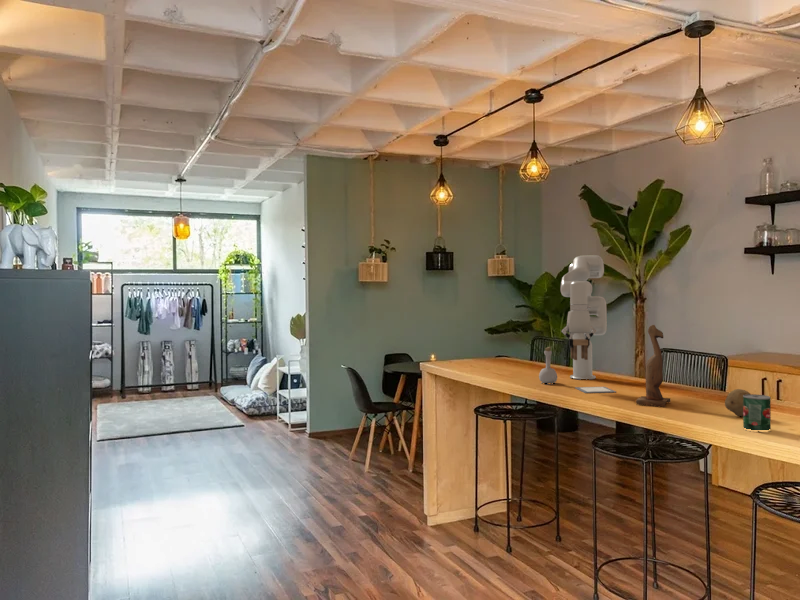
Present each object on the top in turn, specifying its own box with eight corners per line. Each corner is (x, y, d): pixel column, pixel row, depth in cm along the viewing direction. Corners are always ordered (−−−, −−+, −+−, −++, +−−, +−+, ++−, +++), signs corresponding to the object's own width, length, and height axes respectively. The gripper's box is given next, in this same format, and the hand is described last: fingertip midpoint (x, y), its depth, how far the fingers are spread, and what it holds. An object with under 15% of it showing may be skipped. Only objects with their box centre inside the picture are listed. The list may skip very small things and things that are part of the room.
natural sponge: (729, 419, 224) (729, 390, 224) (721, 413, 233) (721, 386, 233) (757, 419, 223) (757, 391, 223) (748, 414, 232) (748, 387, 231)
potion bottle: (559, 384, 306) (559, 347, 306) (541, 384, 306) (540, 347, 306) (555, 381, 315) (554, 345, 315) (537, 382, 315) (536, 345, 314)
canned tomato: (774, 432, 203) (774, 398, 203) (748, 432, 204) (748, 398, 204) (765, 427, 211) (765, 394, 211) (739, 426, 212) (739, 394, 212)
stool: (570, 358, 293) (570, 339, 293) (584, 358, 294) (583, 338, 293) (574, 360, 287) (574, 340, 287) (588, 359, 287) (588, 340, 287)
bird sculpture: (667, 408, 246) (670, 326, 245) (635, 405, 252) (638, 324, 251) (670, 404, 256) (673, 324, 255) (640, 400, 262) (642, 323, 261)
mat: (575, 388, 295) (575, 387, 295) (604, 387, 296) (604, 386, 296) (585, 393, 281) (585, 392, 281) (616, 392, 282) (616, 391, 282)
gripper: (595, 307, 294) (595, 346, 294) (557, 308, 293) (558, 347, 294) (600, 308, 286) (600, 348, 287) (562, 309, 286) (562, 348, 286)
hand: (579, 347), depth 290 cm, fingers closed on stool, 6 cm apart
